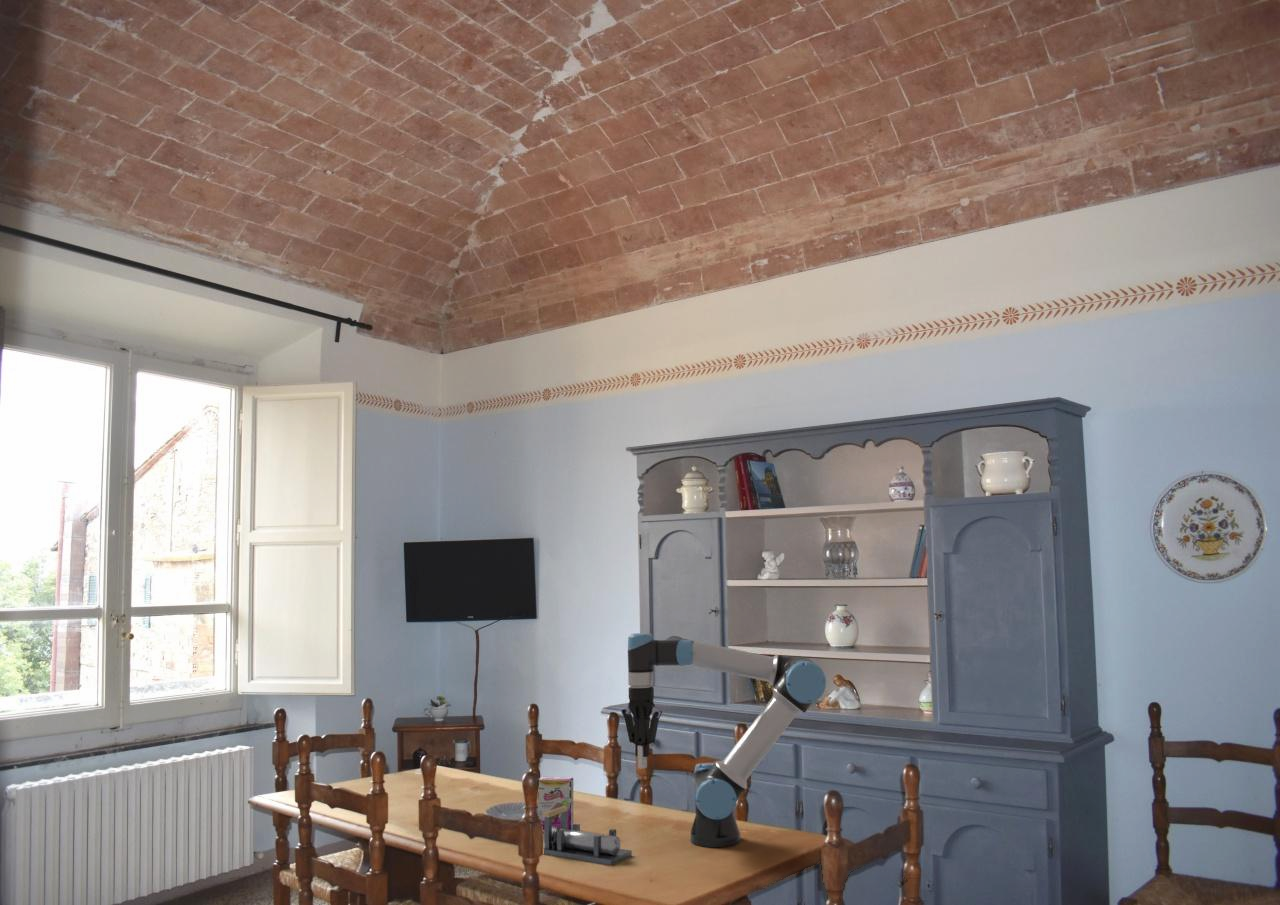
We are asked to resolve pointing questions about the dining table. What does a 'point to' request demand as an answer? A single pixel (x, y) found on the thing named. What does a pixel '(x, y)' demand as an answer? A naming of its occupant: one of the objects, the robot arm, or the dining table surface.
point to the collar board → (576, 853)
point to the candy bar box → (555, 798)
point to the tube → (586, 841)
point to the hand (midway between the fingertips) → (642, 767)
